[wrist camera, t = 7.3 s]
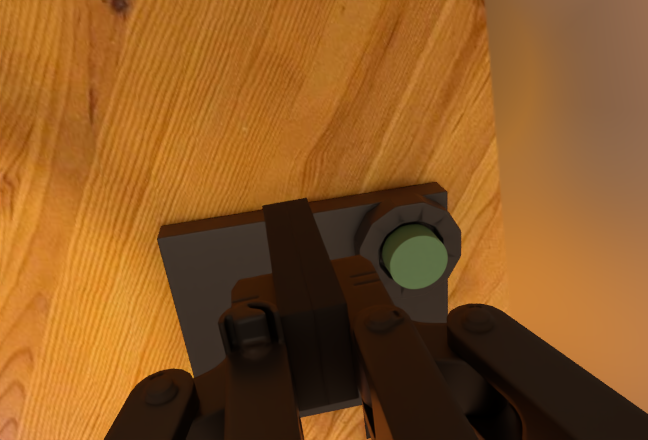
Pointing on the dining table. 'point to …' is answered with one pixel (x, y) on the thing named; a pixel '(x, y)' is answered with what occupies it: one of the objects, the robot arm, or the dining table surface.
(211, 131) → the dining table surface
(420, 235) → the button
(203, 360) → the scale
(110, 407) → the dining table surface
